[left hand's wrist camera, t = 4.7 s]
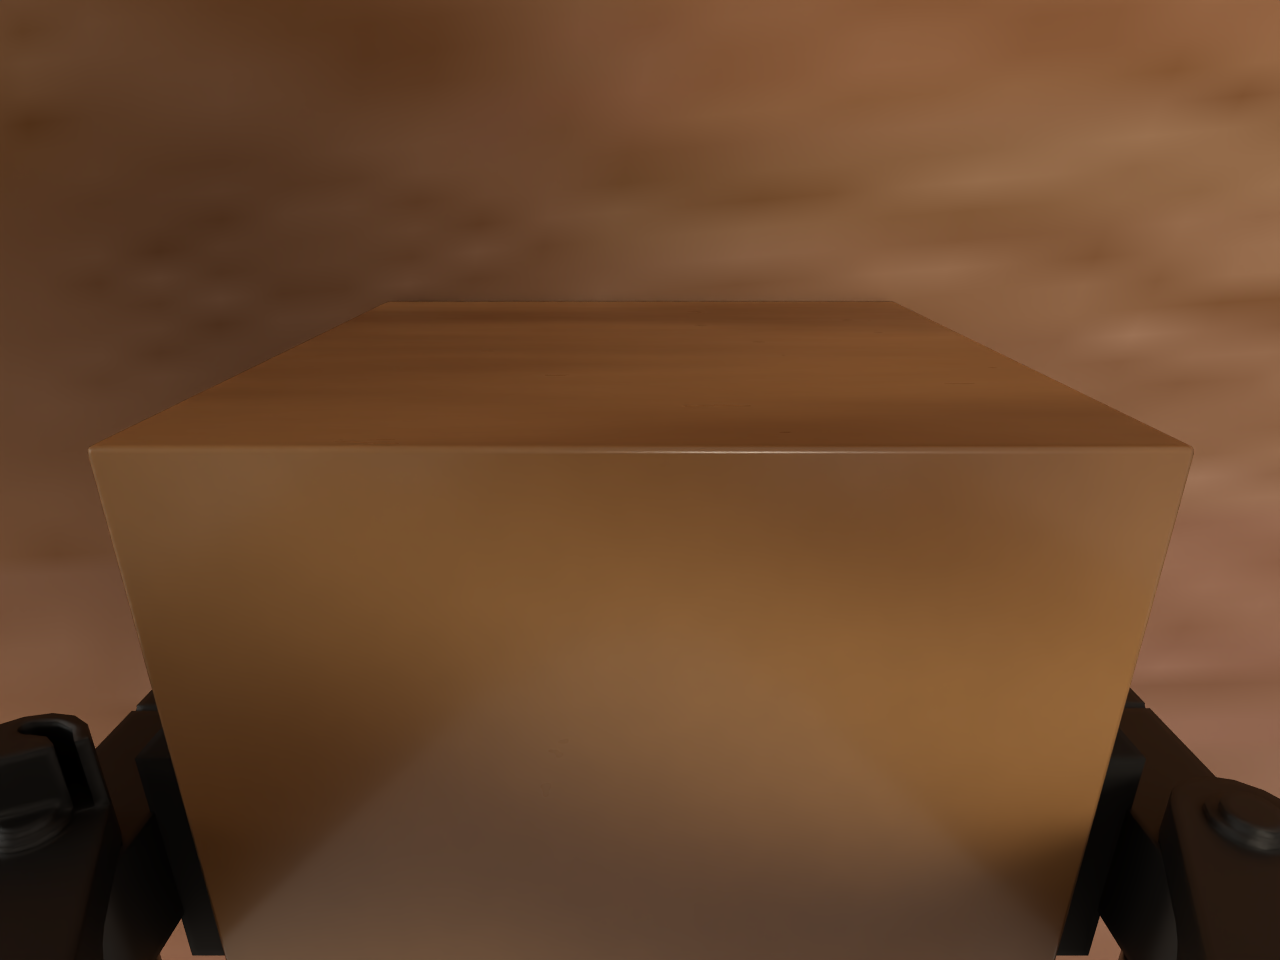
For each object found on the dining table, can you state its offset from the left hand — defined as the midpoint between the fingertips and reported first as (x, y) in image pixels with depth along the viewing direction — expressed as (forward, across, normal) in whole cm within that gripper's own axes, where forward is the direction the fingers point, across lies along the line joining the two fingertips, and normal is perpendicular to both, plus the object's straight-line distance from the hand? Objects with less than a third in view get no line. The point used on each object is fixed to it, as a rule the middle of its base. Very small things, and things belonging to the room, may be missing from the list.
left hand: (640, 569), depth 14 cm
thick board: (0, 0, -36) cm, 36 cm away
